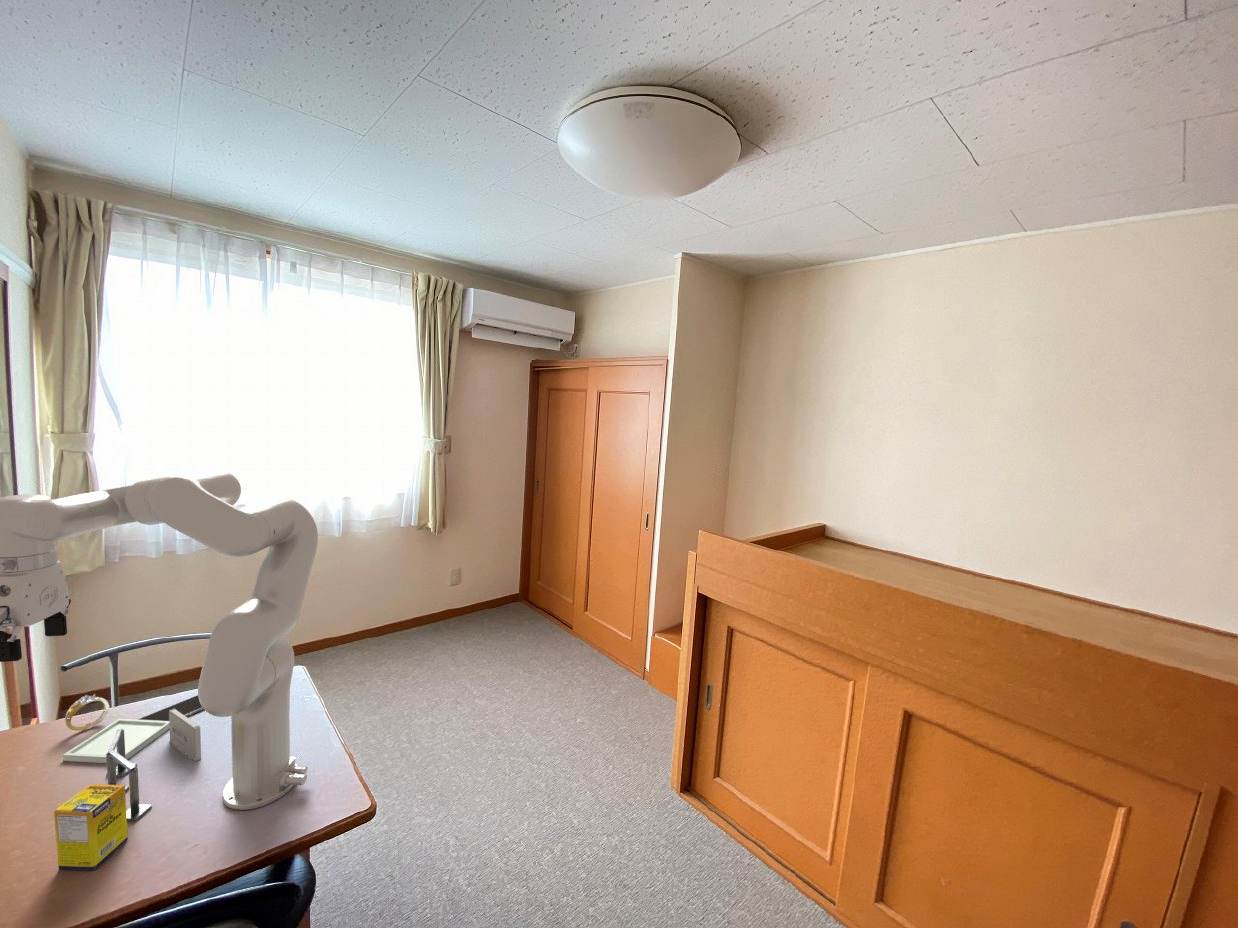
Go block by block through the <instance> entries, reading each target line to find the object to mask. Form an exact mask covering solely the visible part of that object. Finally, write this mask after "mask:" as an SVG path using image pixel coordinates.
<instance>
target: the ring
mask: <svg viewBox="0 0 1238 928" xmlns="http://www.w3.org/2000/svg"><path fill="white" fill-rule="evenodd" d="M92 702H99V703H101V705H103V711H102V713H101V715H100V716H99V717H98V718H97V719H96V720H95V721H93V722H90V723H86V724H85V725H81V726H76V725H73V724H72V722H71V721H72V719H73V717H74V715H75V714H76V713H77V712H78V711H80V710H81V709H82V708H83V707H85V705H88V704H90V703H92ZM104 710H106V711H104ZM109 712H110V704H109V701H108V700H107V699H105V698H103V697H101V696H96V694H95V693H94V694H93V695H88V694H85V695H84V696H80V698H79V699H78V700H75V702H74V703H72V704H71V705H70V706H69V708H68V710H67V711H66V714H65V716H64V717H65V718H64V722H65V725H66V726H67V728H68V729H70V730H72V731H84V730H86V731H87V730H88V731H89V730H92V728H93V727H95V726H97V725H98V724H100V723H101V722H102V721H103V720H104V719H105V718H106V717H107V715H108V713H109ZM67 718H70V719H67Z"/></svg>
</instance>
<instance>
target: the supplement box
mask: <svg viewBox="0 0 1238 928" xmlns="http://www.w3.org/2000/svg"><path fill="white" fill-rule="evenodd" d="M126 801H127V800H126V792H125V784H117V785H108V784H104V783H103V784H101V783H100V784H99V783H91V784H89V785H87V786H86V787H84V788H83V789H82V790H81V791H79V792H78V793H76V794H75V795H73V797H71V798H69V799H68V800H67V801H65V802H63V803H62V805H60V806H58V807H57V808H56V809H55V810H54V812H53V816H54V827H55V840H56V842H55V843H56V851H57V854H56V855H57V865H58V866H57V867H58V870H65V871H66V870H67V871H73V870H74V871H95V870H97V869H98V868H99V867H100V866H101V865H102V864H103V863H105V861H106V860H108V859H109V858H110V857H111V856H112V855H113V854H114V853H116V852H117V850H119V849H121V847H122V846H123V845H124V844H125V843H126V842H127V841H128V839H129V837H128V836H129V835H128V821H127V816H126V811H127V802H126Z"/></svg>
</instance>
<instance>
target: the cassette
mask: <svg viewBox="0 0 1238 928" xmlns="http://www.w3.org/2000/svg"><path fill="white" fill-rule="evenodd" d="M169 726H170V728H169V741H170V742H171V745H172V747H174V749H176V750H178V751H179V752H181V753H182V755H184V756H185V757H187V758H188V759H189V760H191V759H193V760H194V761H196V762H197V761H199V760H200V759H202V750H201V749H202V747H201V746H202V745H201V744H202V742H201V741H202V738H201V737H202V736H201V726H200V725H199V724H197V722H194V720H192V719H190V718H189V717H186V716H184V715H183V714H181V713H180V712H178V711H177V710H176V709H172V710H169Z"/></svg>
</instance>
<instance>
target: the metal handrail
mask: <svg viewBox="0 0 1238 928" xmlns="http://www.w3.org/2000/svg"><path fill="white" fill-rule="evenodd" d="M116 746H117V752H116V751H114V750H115V748H116ZM106 760H107V763H106V775H105V776H106V777H107V785H118V783H117V780H118V779H117V778H124V777H125V776H126V775H128V784H129V785H128V786H125V793H127V792H128V791H129V808H128V809H126V816H127V822H135V823H136V822H138V821H139V819H141V818H142V817H143V816H144V815H145V814H147V812H149V811H150V810H151V809H152V808H153V805H152V804H146V803H145V804H144V803H143V804H142V803H140V790H139V789H140V788H139V769H138V763H134V762H133V763H132V762H131V761H129V759H128V760H126V757H125V738H124V730H122V729H118V730H117V732H116V734H115V736H114V739H113V741H112V743H111V745H110V748H109V750H108V753H107V754H106ZM116 761H117V764H116Z"/></svg>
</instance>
